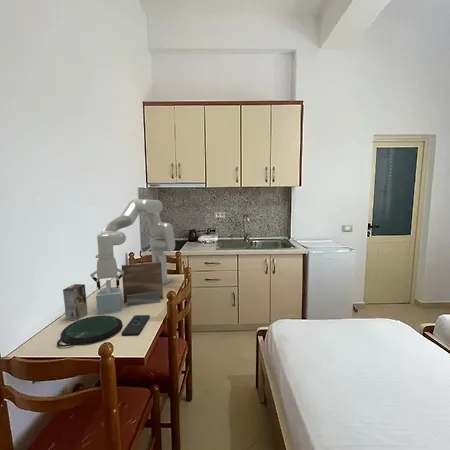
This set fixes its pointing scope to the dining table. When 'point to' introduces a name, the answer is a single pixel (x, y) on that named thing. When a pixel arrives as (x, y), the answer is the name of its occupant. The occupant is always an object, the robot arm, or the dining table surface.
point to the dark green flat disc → (90, 330)
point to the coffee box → (75, 301)
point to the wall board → (142, 283)
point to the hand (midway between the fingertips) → (108, 287)
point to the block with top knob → (109, 299)
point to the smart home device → (135, 325)
